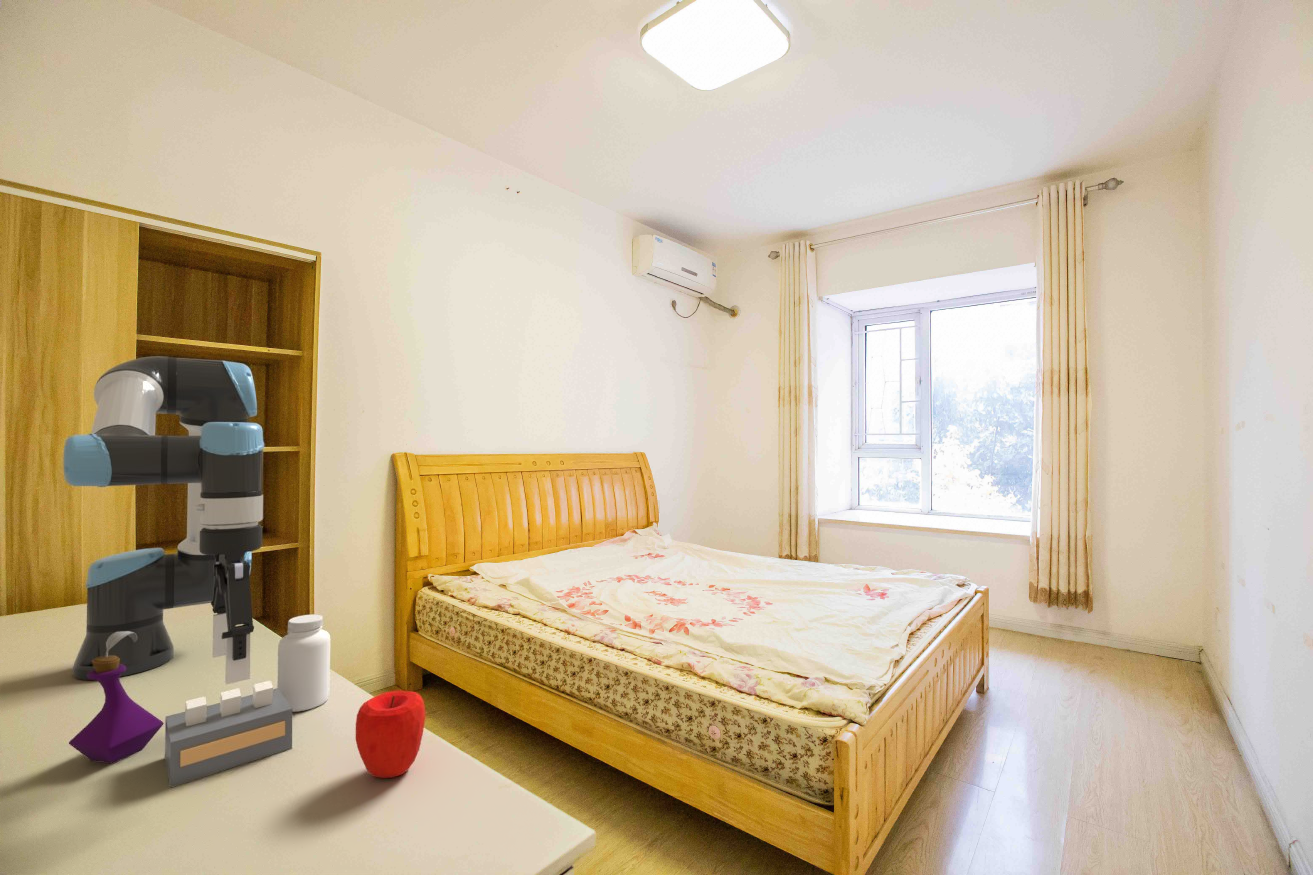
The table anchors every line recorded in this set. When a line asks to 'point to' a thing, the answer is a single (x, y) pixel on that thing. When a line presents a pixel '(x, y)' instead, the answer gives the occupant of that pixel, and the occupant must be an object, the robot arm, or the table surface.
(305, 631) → the pill bottle
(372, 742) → the apple
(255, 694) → the cream sugar cube
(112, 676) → the perfume bottle
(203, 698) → the paddle left
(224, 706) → the paddle middle
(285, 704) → the breaker panel
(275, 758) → the table surface
